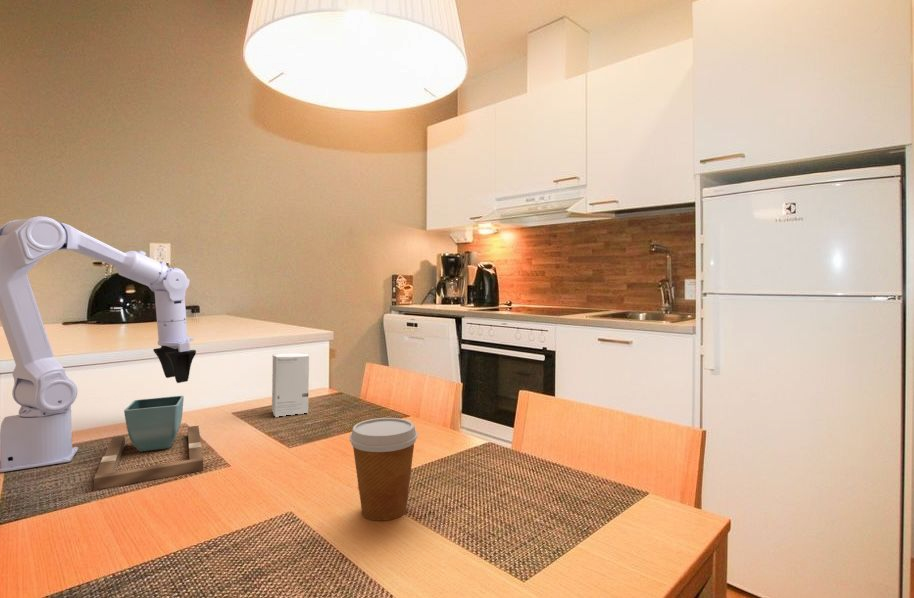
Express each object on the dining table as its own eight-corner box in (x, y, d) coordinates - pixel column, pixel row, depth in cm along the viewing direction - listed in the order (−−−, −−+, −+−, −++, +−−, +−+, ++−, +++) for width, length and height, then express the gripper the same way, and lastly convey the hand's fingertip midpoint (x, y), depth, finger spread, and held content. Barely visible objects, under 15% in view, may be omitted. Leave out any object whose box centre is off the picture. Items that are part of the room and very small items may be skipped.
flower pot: (124, 457, 87) (123, 410, 86) (135, 443, 95) (134, 399, 94) (178, 451, 90) (177, 405, 90) (184, 437, 98) (184, 395, 98)
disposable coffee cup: (388, 534, 59) (387, 441, 59) (335, 515, 64) (334, 429, 64) (431, 504, 67) (430, 423, 67) (381, 489, 72) (380, 413, 72)
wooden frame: (94, 490, 73) (93, 476, 73) (112, 446, 93) (112, 435, 93) (203, 470, 80) (203, 458, 80) (198, 433, 100) (198, 424, 100)
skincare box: (274, 418, 112) (273, 357, 112) (271, 412, 118) (270, 353, 117) (310, 413, 116) (309, 354, 116) (305, 408, 122) (305, 351, 121)
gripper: (202, 320, 103) (207, 380, 104) (180, 316, 113) (185, 371, 114) (166, 324, 98) (172, 387, 99) (146, 320, 108) (151, 377, 109)
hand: (176, 379), depth 106 cm, fingers open, 7 cm apart
